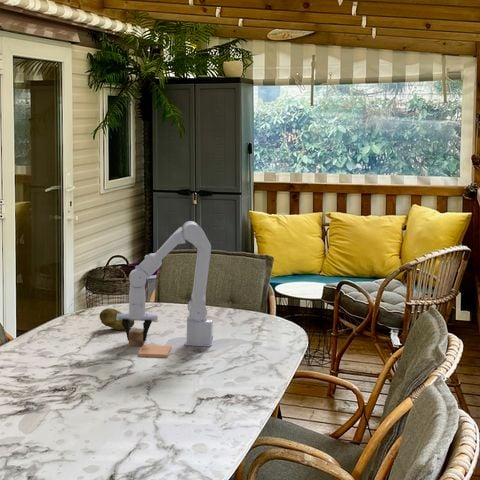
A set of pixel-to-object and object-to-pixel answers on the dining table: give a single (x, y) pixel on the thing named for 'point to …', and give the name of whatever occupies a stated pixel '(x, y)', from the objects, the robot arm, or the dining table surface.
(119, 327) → the olive green oval piece
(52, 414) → the dining table surface
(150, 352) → the terracotta tile
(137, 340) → the walnut cube
